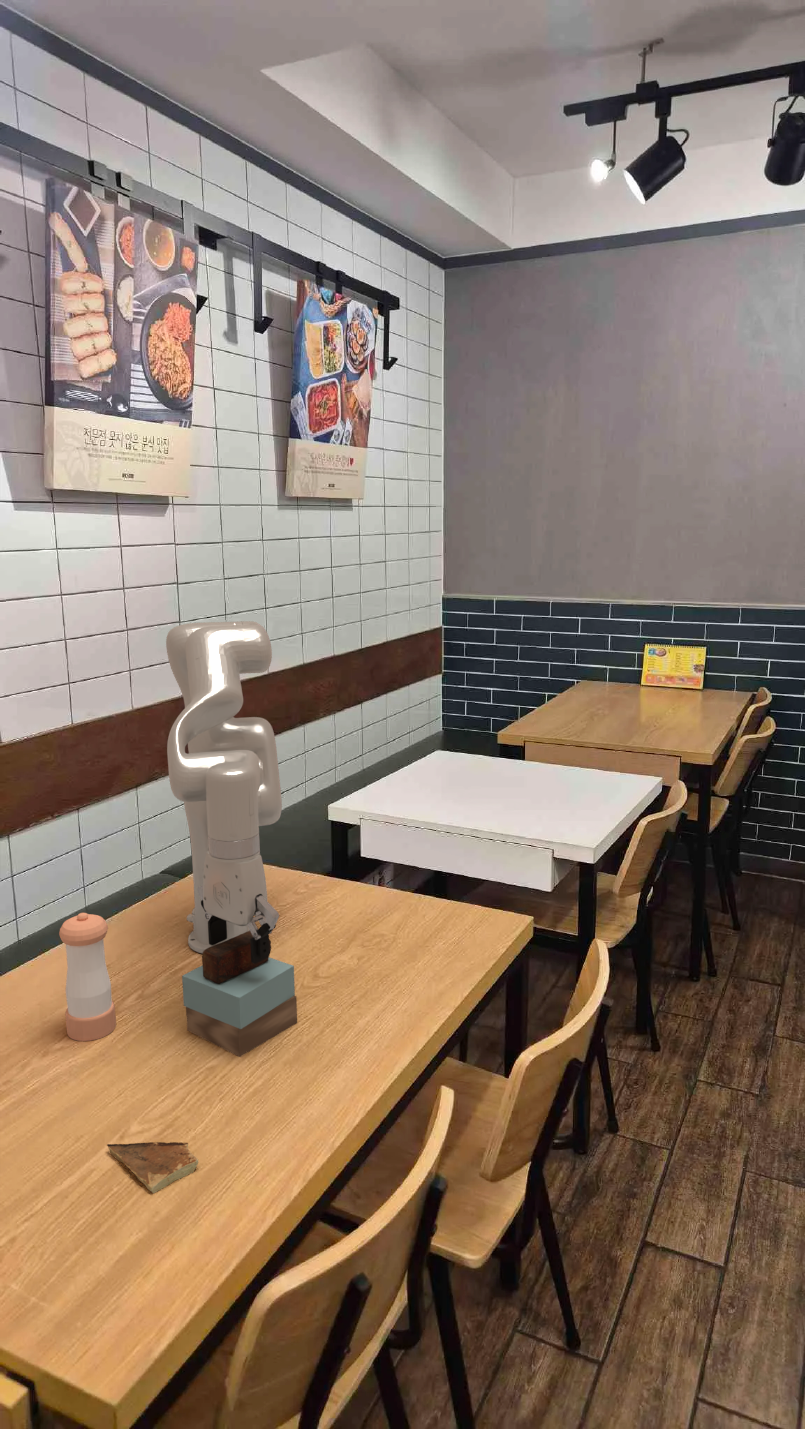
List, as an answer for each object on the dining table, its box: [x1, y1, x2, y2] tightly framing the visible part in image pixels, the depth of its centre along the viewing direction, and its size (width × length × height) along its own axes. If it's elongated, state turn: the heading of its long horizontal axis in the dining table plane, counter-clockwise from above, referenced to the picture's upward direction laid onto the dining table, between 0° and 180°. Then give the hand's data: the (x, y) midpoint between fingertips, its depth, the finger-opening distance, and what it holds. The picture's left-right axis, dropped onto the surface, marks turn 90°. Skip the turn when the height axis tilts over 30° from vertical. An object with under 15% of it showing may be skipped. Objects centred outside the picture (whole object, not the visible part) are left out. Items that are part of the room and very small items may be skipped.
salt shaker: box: [58, 912, 117, 1042], centre depth 143 cm, size 7×7×19 cm
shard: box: [106, 1141, 199, 1194], centre depth 115 cm, size 11×8×2 cm
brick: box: [201, 931, 272, 984], centre depth 143 cm, size 11×4×5 cm, turn 141°
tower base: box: [185, 995, 298, 1058], centre depth 145 cm, size 12×12×5 cm
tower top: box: [181, 956, 296, 1029], centre depth 144 cm, size 12×12×5 cm
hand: (238, 950), depth 143 cm, fingers open, 9 cm apart
